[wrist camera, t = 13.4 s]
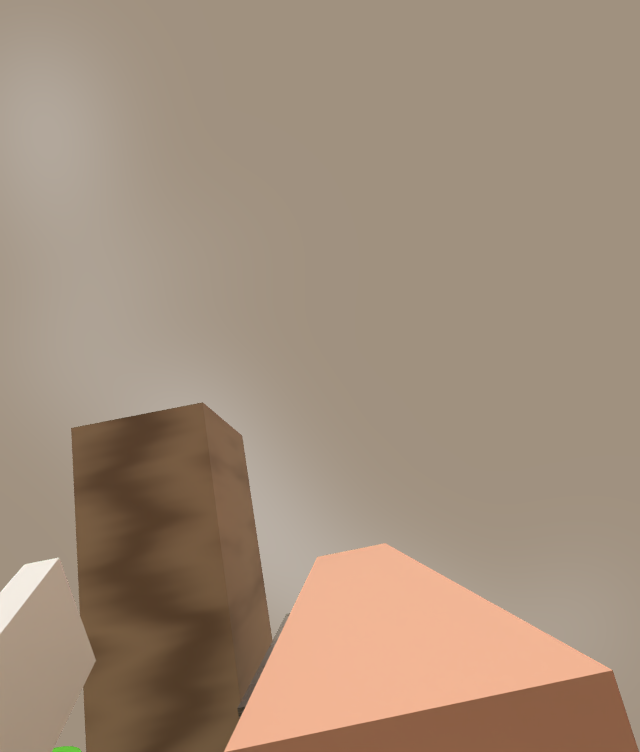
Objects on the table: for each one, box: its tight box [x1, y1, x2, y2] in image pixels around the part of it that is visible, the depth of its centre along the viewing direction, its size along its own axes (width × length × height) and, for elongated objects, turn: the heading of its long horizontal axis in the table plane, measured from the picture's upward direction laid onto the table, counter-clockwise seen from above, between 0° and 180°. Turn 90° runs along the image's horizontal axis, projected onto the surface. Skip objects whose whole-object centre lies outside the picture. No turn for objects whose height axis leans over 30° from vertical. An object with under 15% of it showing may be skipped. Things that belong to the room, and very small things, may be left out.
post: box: [71, 403, 272, 752], centre depth 26 cm, size 7×11×32 cm, turn 178°
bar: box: [224, 543, 639, 752], centre depth 16 cm, size 4×24×4 cm, turn 178°
